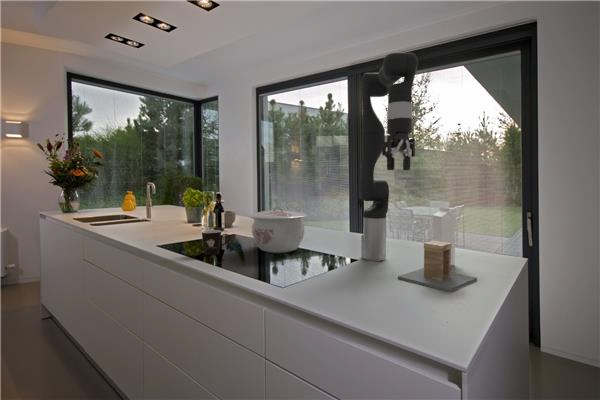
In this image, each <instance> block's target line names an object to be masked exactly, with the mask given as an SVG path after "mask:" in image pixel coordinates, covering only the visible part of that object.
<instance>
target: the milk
mask: <svg viewBox="0 0 600 400" xmlns="http://www.w3.org/2000/svg"><path fill="white" fill-rule="evenodd" d="M456 219H457V218H456V216H455V215H454V214H452V213H450V208H449V207H441V206H439V210H438V211H436V212H435V213H433V214H432V234H431V235H432V239H431V241H439V242H445V243H452V248H451V266H455V261H456V260H455V259H456V257H455V255H456V253H455V252H456Z"/></svg>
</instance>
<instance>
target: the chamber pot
mask: <svg viewBox="0 0 600 400" xmlns="http://www.w3.org/2000/svg"><path fill="white" fill-rule="evenodd" d="M308 216H309V215H308V213H305V212H301V211H295V210H290V209H289V210H288V209H287V210H286V209H283V208H282V207H281V206H275V207H274V208H273V209H272V210H262V211H258V212H254V213H251V214H249V215H248V217H249V218H250V219H253V223H252V225H251V233H252V239H253V241H254V242H255V244H256V245H257V247H258V248H259V249H260V250H261V251H262V252H266V253H267V254H268V253H269V254H286V253H291V252H293V251H295V250H297V249H298V248H299V246H300V245H301V243H302V242H303V240H304V237H305V236H304V235H305V227H306V226H305V224H304V222H303V219H304V218H307V217H308Z"/></svg>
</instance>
